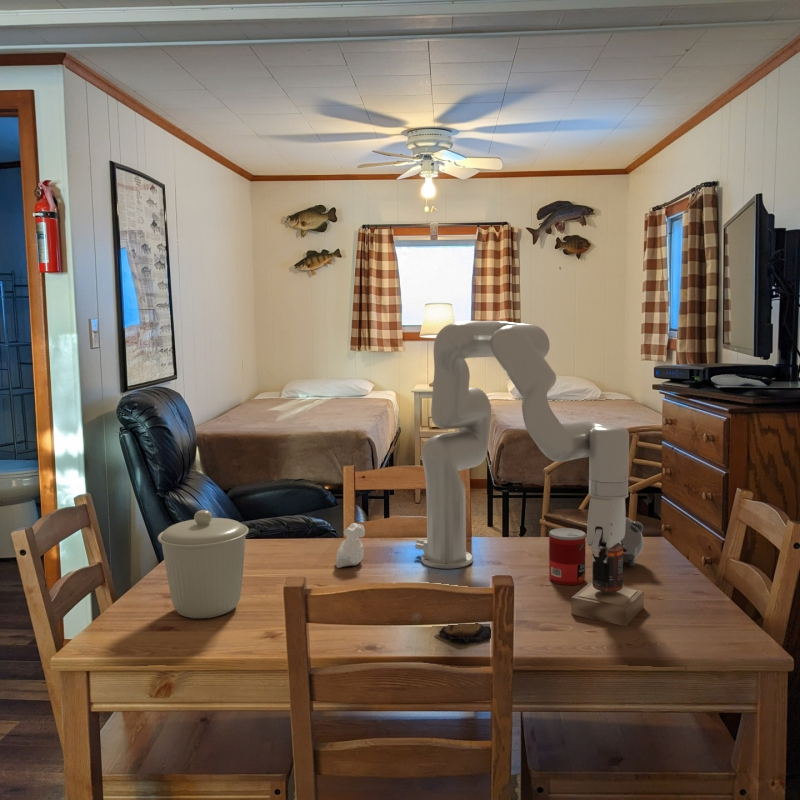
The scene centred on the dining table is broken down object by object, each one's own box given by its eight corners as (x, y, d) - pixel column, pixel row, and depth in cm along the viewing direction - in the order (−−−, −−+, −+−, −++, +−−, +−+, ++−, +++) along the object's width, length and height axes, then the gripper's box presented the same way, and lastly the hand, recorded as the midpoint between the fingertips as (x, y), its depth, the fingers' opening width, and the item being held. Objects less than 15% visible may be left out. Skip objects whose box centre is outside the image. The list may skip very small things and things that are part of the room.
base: (571, 614, 149) (571, 596, 148) (591, 597, 158) (591, 580, 157) (626, 626, 143) (626, 607, 142) (643, 607, 151) (643, 590, 151)
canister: (219, 632, 144) (214, 525, 141) (142, 620, 150) (137, 518, 148) (267, 599, 160) (264, 503, 158) (196, 590, 167) (192, 497, 164)
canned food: (585, 586, 164) (586, 537, 163) (548, 584, 166) (549, 536, 165) (584, 575, 172) (584, 528, 171) (549, 573, 173) (549, 527, 172)
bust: (344, 580, 177) (371, 545, 175) (319, 560, 178) (346, 525, 176) (358, 564, 189) (383, 531, 186) (335, 545, 190) (360, 512, 187)
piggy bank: (607, 575, 171) (608, 526, 170) (584, 555, 186) (585, 510, 185) (654, 572, 172) (655, 524, 171) (627, 553, 187) (628, 508, 186)
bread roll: (460, 654, 133) (459, 634, 133) (430, 638, 140) (430, 620, 140) (503, 638, 140) (502, 619, 139) (472, 624, 146) (472, 605, 146)
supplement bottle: (621, 583, 152) (621, 529, 151) (624, 594, 146) (625, 537, 145) (590, 582, 153) (591, 528, 152) (593, 592, 147) (593, 536, 146)
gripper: (605, 478, 157) (603, 561, 159) (573, 494, 143) (572, 585, 145) (640, 482, 152) (639, 567, 154) (612, 499, 138) (610, 593, 140)
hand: (607, 575), depth 150 cm, fingers closed on supplement bottle, 5 cm apart
